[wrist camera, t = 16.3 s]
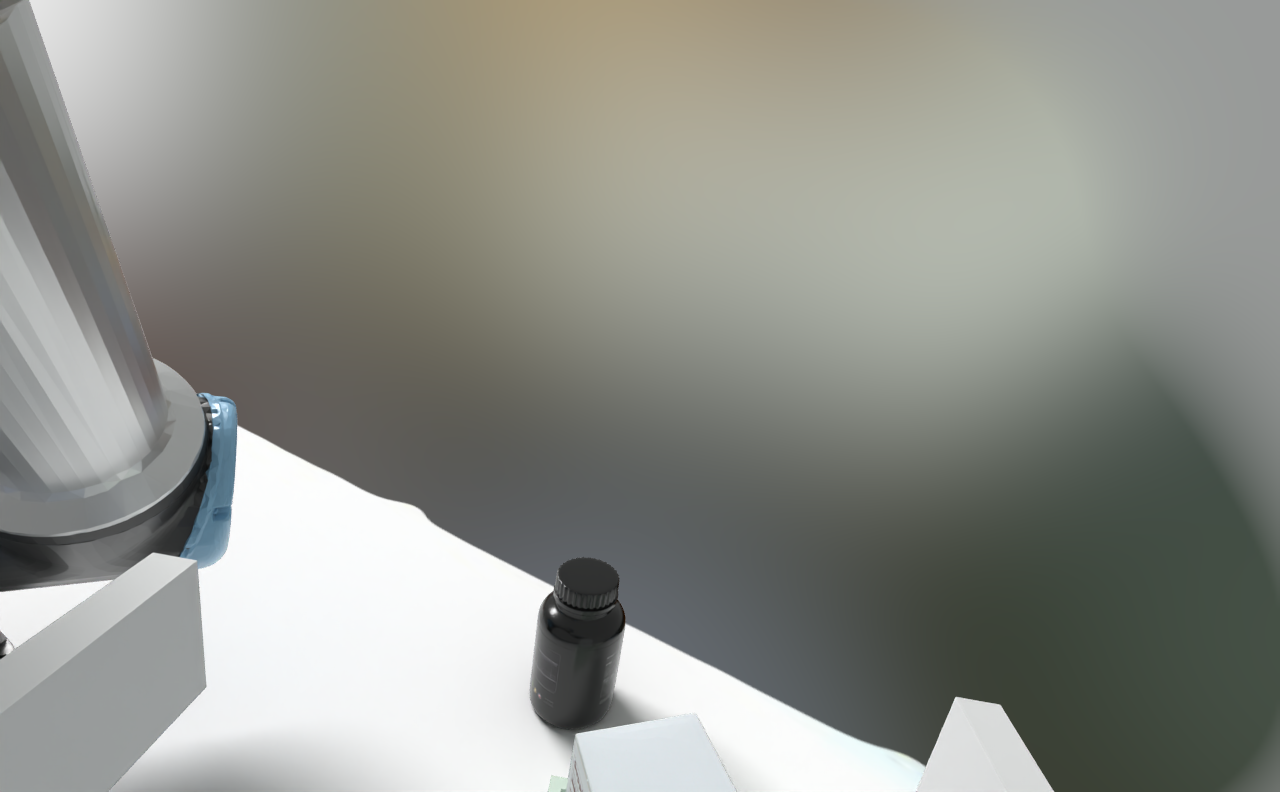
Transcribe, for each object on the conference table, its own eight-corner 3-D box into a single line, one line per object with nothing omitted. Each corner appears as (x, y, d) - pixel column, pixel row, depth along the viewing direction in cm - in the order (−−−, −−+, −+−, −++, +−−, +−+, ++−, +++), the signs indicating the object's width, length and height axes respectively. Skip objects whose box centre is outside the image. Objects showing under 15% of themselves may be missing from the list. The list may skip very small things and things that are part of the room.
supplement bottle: (585, 657, 56) (605, 542, 52) (626, 714, 51) (652, 591, 47) (513, 682, 52) (529, 559, 48) (550, 746, 47) (571, 614, 43)
